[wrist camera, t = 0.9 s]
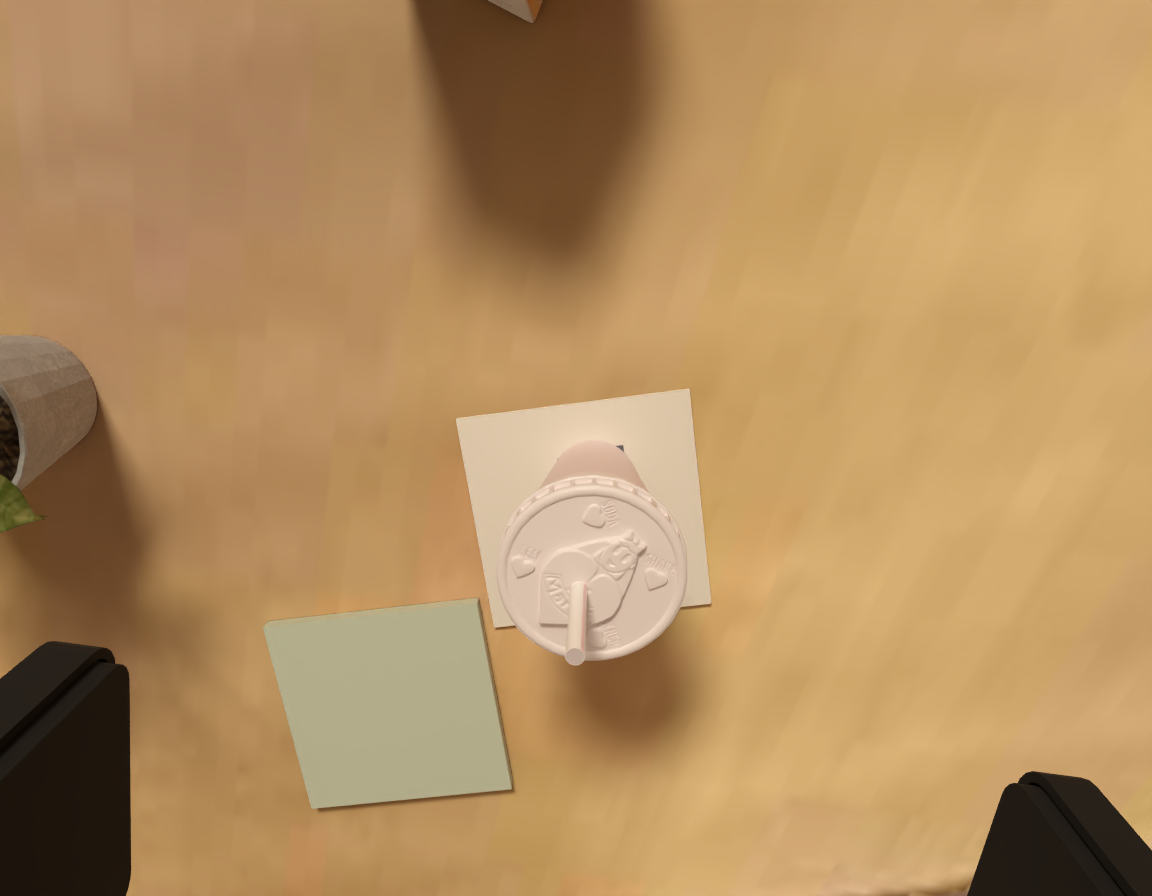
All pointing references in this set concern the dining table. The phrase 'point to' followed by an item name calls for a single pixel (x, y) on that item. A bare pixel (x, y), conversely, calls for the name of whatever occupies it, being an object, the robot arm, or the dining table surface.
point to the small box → (521, 8)
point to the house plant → (38, 416)
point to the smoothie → (592, 559)
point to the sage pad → (391, 703)
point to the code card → (541, 435)
